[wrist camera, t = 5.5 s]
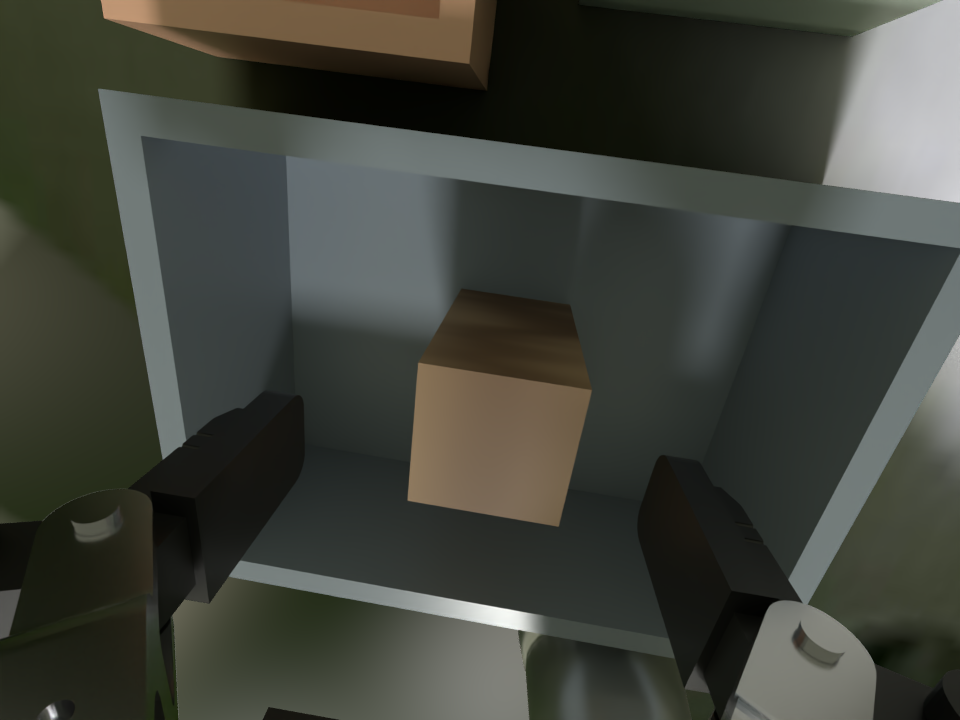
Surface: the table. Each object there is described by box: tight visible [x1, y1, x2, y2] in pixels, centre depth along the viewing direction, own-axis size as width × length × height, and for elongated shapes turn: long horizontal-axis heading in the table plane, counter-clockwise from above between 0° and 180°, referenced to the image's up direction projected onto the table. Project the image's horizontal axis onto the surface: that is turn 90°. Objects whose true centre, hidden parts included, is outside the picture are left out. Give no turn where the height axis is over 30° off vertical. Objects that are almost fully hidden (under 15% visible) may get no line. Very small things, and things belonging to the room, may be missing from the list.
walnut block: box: [408, 289, 592, 527], centre depth 15 cm, size 4×4×7 cm
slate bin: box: [98, 89, 960, 659], centre depth 15 cm, size 19×14×7 cm
